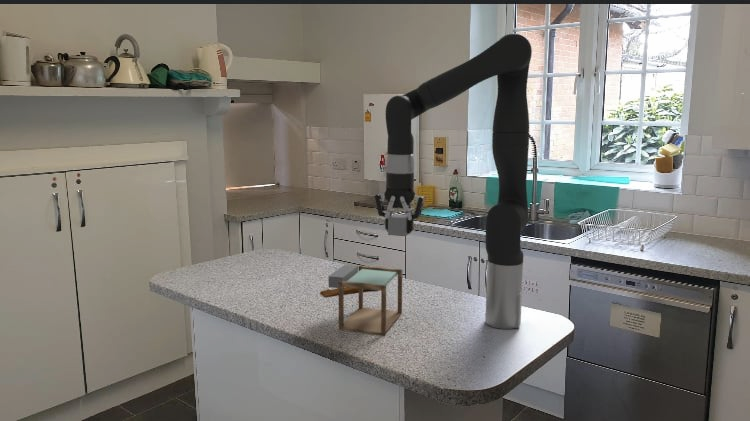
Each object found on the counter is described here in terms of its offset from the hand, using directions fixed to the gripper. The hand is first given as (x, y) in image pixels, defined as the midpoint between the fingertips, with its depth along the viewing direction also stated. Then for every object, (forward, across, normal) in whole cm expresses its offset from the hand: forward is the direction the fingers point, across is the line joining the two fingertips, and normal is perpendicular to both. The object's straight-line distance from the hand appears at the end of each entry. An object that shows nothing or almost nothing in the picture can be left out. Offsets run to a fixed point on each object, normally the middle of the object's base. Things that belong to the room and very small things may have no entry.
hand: (399, 231), depth 160 cm
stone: (0, 0, 0) cm, 1 cm away
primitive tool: (+24, +20, -13) cm, 34 cm away
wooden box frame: (+24, +5, +9) cm, 26 cm away
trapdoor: (+13, +7, +9) cm, 17 cm away
